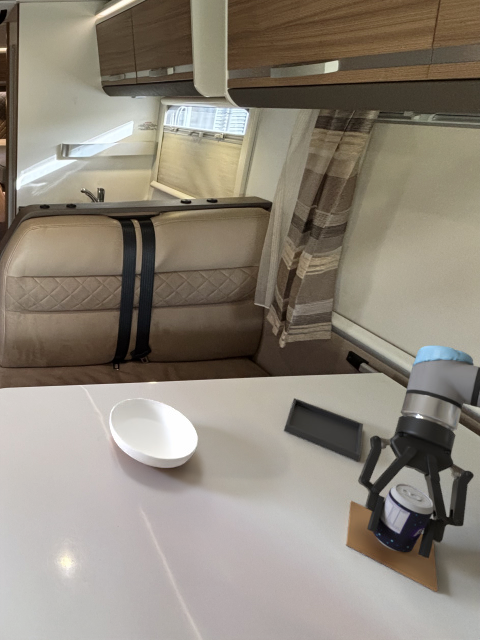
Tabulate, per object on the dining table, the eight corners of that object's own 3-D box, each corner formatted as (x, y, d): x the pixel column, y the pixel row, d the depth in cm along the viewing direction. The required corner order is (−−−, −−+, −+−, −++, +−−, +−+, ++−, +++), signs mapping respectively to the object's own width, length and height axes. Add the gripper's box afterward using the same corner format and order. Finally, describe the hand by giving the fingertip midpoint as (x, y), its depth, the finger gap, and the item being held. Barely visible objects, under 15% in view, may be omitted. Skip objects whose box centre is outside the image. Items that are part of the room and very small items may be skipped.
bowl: (153, 409, 115) (156, 391, 112) (212, 466, 98) (218, 445, 95) (91, 427, 109) (93, 408, 107) (142, 490, 92) (146, 469, 90)
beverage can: (408, 562, 77) (435, 516, 72) (367, 539, 81) (390, 494, 76) (412, 541, 80) (437, 496, 76) (372, 520, 84) (394, 476, 80)
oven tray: (360, 429, 107) (363, 423, 106) (357, 461, 98) (360, 455, 97) (292, 403, 116) (294, 397, 115) (283, 430, 107) (285, 424, 106)
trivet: (431, 540, 81) (433, 538, 81) (436, 592, 73) (437, 590, 73) (350, 502, 89) (351, 500, 89) (346, 545, 81) (347, 543, 80)
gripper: (493, 452, 79) (466, 579, 74) (357, 404, 91) (326, 510, 86) (512, 447, 73) (484, 584, 68) (365, 396, 85) (332, 509, 80)
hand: (396, 542), depth 77 cm, fingers open, 6 cm apart
